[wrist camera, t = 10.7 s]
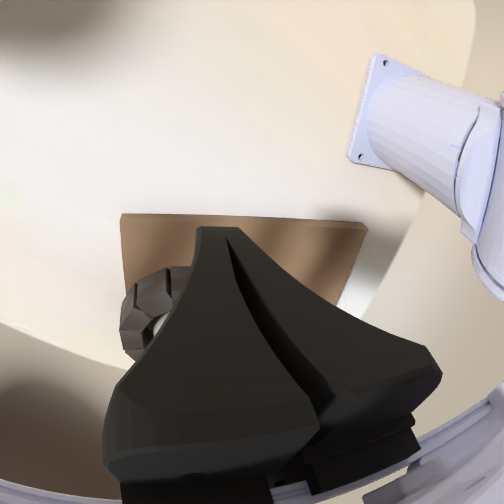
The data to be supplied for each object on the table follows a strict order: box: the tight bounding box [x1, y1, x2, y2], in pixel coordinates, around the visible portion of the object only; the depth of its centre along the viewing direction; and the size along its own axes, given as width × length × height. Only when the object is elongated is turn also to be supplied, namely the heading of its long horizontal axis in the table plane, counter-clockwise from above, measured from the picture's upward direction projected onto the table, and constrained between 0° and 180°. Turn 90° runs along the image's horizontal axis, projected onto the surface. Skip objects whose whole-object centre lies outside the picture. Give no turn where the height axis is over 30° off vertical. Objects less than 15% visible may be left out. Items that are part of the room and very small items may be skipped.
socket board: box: [119, 214, 368, 361], centre depth 24 cm, size 18×14×4 cm
